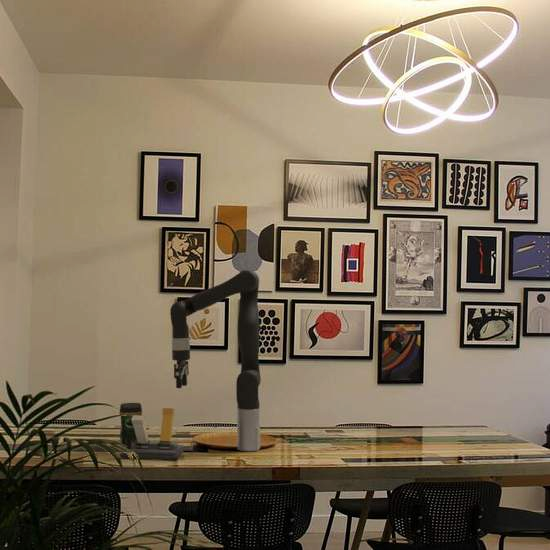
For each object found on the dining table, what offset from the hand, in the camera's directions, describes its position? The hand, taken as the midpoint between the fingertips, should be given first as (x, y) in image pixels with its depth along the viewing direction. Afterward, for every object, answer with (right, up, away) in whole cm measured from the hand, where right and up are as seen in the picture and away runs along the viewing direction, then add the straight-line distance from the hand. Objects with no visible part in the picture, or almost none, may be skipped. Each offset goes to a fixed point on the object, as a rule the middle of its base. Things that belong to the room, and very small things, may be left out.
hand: (181, 386), depth 329 cm
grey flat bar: (-10, -25, -24) cm, 36 cm away
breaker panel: (-9, -25, -15) cm, 31 cm away
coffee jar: (-22, -26, 0) cm, 34 cm away
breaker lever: (-5, -22, -16) cm, 28 cm away
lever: (-14, -22, -14) cm, 29 cm away
